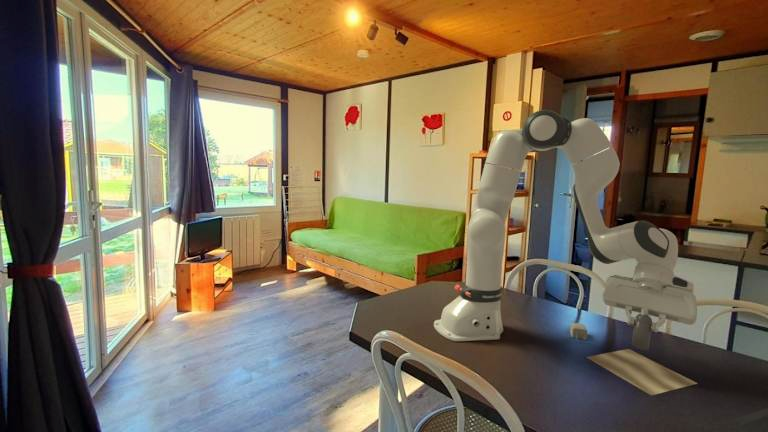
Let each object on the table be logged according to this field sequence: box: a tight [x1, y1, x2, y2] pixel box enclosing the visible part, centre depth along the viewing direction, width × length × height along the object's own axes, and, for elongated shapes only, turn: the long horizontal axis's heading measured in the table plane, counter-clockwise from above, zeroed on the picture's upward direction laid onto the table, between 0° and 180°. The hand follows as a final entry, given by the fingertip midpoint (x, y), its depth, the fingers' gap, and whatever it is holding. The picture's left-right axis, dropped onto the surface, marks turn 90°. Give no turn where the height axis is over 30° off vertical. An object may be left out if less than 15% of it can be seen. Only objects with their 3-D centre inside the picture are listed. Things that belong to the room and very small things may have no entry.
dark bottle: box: [631, 308, 653, 351], centre depth 96 cm, size 4×4×10 cm
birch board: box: [586, 348, 699, 396], centre depth 97 cm, size 16×18×1 cm
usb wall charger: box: [569, 322, 588, 341], centre depth 115 cm, size 4×7×4 cm, turn 161°
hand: (642, 327), depth 95 cm, fingers closed on dark bottle, 4 cm apart
